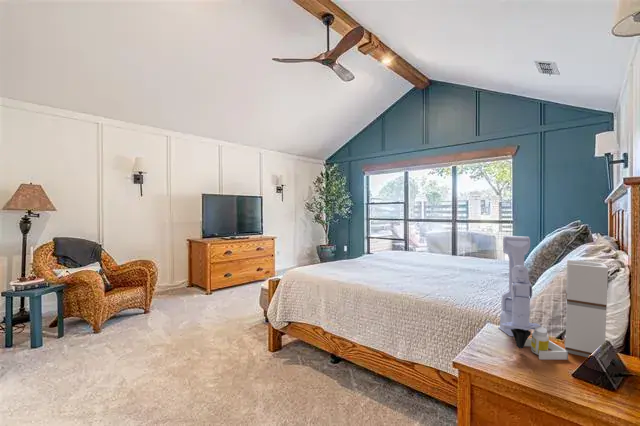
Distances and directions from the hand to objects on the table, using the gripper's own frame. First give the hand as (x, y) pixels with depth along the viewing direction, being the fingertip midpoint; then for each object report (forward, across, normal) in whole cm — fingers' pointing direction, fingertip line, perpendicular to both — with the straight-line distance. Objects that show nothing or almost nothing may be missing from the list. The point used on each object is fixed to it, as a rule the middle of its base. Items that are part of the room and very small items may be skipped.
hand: (519, 347), depth 121 cm
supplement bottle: (+1, +7, 0) cm, 7 cm away
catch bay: (+2, +9, 0) cm, 9 cm away
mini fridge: (+2, +26, +1) cm, 26 cm away
